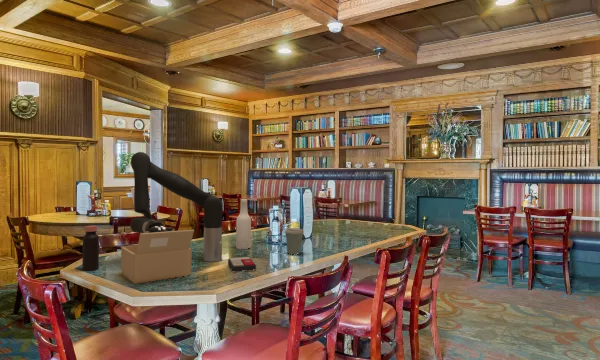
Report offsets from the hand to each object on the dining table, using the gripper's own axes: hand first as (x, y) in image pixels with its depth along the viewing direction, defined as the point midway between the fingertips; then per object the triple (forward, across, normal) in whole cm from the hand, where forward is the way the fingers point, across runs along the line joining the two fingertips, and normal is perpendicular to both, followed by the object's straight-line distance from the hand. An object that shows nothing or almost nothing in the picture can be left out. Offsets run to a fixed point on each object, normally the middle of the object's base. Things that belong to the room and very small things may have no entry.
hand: (166, 233), depth 170 cm
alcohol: (-46, +64, +20) cm, 81 cm away
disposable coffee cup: (-15, +79, +20) cm, 83 cm away
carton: (-12, 0, +20) cm, 23 cm away
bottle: (-38, -22, +20) cm, 49 cm away
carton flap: (0, 0, +3) cm, 3 cm away
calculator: (-3, +38, +21) cm, 43 cm away
